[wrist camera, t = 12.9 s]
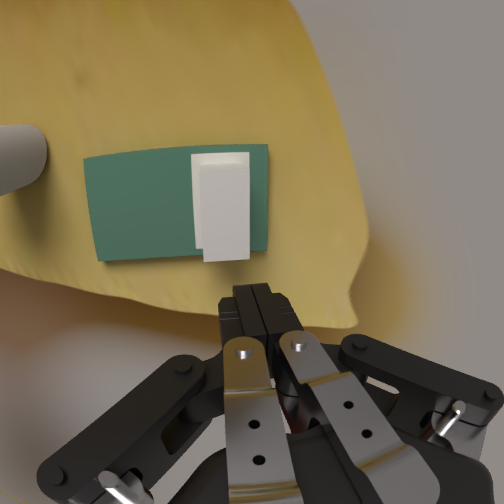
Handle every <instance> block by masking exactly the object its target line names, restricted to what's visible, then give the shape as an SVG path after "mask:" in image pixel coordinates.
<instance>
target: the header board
mask: <svg viewBox="0 0 504 504" xmlns="http://www.w3.org/2000/svg"><path fill="white" fill-rule="evenodd" d="M83 160H84V172H85V182H86V191H87V199H88V207H89V213H90V220H91V226H92V232H93V238H94V243H95V248H96V253H97V258H98V261H112V260H128V259H144V258H160V257H176V256H191V255H203V242H202V225H201V206H200V183H199V168H200V164H218V163H242V164H243V165H245V166H246V167H247V168H249V169H250V252H255V251H267V204H268V145H267V144H233V145H204V146H186V147H173V148H161V149H150V150H141V151H132V152H124V153H117V154H110V155H103V156H97V157H90V158H86V159H83Z"/></svg>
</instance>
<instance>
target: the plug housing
mask: <svg viewBox="0 0 504 504" xmlns="http://www.w3.org/2000/svg"><path fill="white" fill-rule="evenodd" d="M199 183H200V206H201V225H202V242H203V257H204V262H212V261H228V260H243V259H250V169H249V168H247V167H246V166H245V165H243V164H242V163H218V164H200V168H199Z"/></svg>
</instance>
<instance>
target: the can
mask: <svg viewBox="0 0 504 504" xmlns="http://www.w3.org/2000/svg"><path fill="white" fill-rule="evenodd" d="M46 158H47V145H46V141H45V138H44V136H43V134H42V132H41V131H40V130H39V129H38V128H37V127H35V126H33V125H29V124H26V125H2V126H0V196H2V195H4V194H7V193H9V192H12V191H14V190H16V189H19V188H21V187H24V186H26V185H29V184H31V183H32V182H34V181H35V180H36V179H37V178H38V177H39V176H40V175H41V173H42V171H43V169H44V167H45V163H46Z"/></svg>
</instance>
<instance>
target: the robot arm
mask: <svg viewBox="0 0 504 504" xmlns="http://www.w3.org/2000/svg"><path fill="white" fill-rule="evenodd" d="M218 311H219V325H220V335H221V343H222V350H221V351H220V353H219V354H218V355H216V356H215V357H213V358H211V359H208V360H205V361H201V360H200V359H199V358H197V357H195V356H192V355H177V356H174V357H172V358H170V359H168V360H167V361H166V362H165V363H164V364H162V365H161V366H160V367H159V368H158V369H157V370H155V371H154V372H153V373H152V374H151V375H150V376H148V377H147V378H146V379H145V380H144V381H142V382H141V383H140V384H139V385H138V386H136V387H135V388H134V389H133V390H132V391H131V392H129V393H128V394H127V395H126V396H125V397H123V398H122V399H121V400H120V401H119V402H117V403H116V404H115V405H114V406H112V407H111V408H110V409H109V410H108V411H106V412H105V413H104V414H103V415H102V416H100V417H99V418H98V419H97V420H95V421H94V422H93V423H92V424H90V426H88V427H87V428H86V429H84V430H83V431H82V432H81V433H79V434H78V435H77V436H76V437H74V438H73V439H72V440H71V441H69V442H68V443H67V444H65V445H64V446H63V447H62V448H60V449H59V450H58V451H57V452H55V453H54V454H53V455H51V456H50V457H49V458H48V459H46V460H45V461H44V462H43V463H42V464H41V465H40V466H39V468H38V471H37V483H38V486H39V488H40V489H41V491H42V492H43V493H44V494H45V495H47V496H48V497H49V498H51V499H52V500H54V501H55V502H57V503H58V504H154V498H153V496H152V494H151V492H150V491H149V490H150V489H151V488H152V487H153V486H154V485H155V484H156V483H157V481H158V480H159V479H160V478H161V477H162V476H163V475H164V474H165V473H166V472H167V471H168V470H169V469H170V468H171V467H172V466H173V465H174V463H175V462H176V461H177V460H178V459H179V458H180V457H181V456H182V455H183V454H184V453H185V452H186V451H187V449H188V448H189V447H190V446H191V445H192V444H193V443H194V441H195V440H196V439H197V438H198V437H199V436H200V435H201V434H202V432H203V431H204V430H205V429H206V428H207V427H208V426H209V424H210V423H211V421H212V418H214V417H217V416H220V415H223V414H225V433H226V448H223V449H221V450H219V451H217V452H215V453H214V454H212V455H211V456H209V457H208V458H207V459H205V461H203V462H202V463H201V464H200V465H199V467H198V468H197V469H196V470H195V471H194V473H193V474H192V475H191V476H190V478H189V479H188V480H187V481H186V483H185V484H184V485H183V486H182V487H181V489H180V490H179V491H178V492H177V493H176V495H175V496H174V497H173V498H172V499H171V500H170V502H169V503H168V504H495V503H494V495H493V481H492V477H491V474H490V472H489V471H488V469H487V468H486V467H485V465H483V464H482V463H481V462H479V459H480V455H481V451H482V447H483V443H484V438H485V433H486V428H487V425H488V423H489V422H490V421H491V420H492V419H493V417H494V416H495V415H496V414H497V412H498V411H499V410H500V408H501V407H502V406H503V404H504V395H503V393H502V391H501V390H500V388H499V387H497V386H496V385H494V384H492V383H490V382H487V381H484V380H481V379H478V378H475V377H472V376H470V375H467V374H464V373H462V372H459V371H456V370H453V369H450V368H448V367H445V366H443V365H440V364H437V363H434V362H432V361H429V360H427V359H424V358H421V357H419V356H416V355H414V354H411V353H408V352H406V351H403V350H401V349H398V348H396V347H393V346H390V345H388V344H386V343H383V342H381V341H378V340H376V339H373V338H371V337H368V336H366V335H362V334H351V335H348V336H346V337H345V338H343V340H342V342H341V345H332V344H323V343H319V341H318V340H317V339H316V337H315V336H314V335H312V334H311V333H308V332H305V331H304V329H303V327H302V325H301V323H300V321H299V319H298V317H297V315H296V313H294V310H293V308H292V307H291V304H290V302H289V300H288V298H286V297H285V296H284V295H282V294H281V293H272V292H271V290H270V288H269V286H268V283H259V284H247V285H234V286H233V297H224V298H222V299H221V300H220V302H219V304H218ZM368 376H369V377H371V378H374V379H376V380H378V381H381V382H383V383H385V384H388V385H390V386H392V387H395V388H396V389H397V390H398V391H399V393H398V394H393V393H390V392H388V391H385V390H383V389H381V388H379V387H376V386H374V385H372V384H369V383H367V382H366V381H367V378H368ZM272 378H274V380H275V383H276V385H275V388H272V385H271V380H270V379H272ZM279 404H280V405H279ZM280 406H281V409H282V411H283V414H284V416H285V418H286V420H287V423H288V425H289V427H290V430H291V434H289V433H285V428H284V423H283V419H282V414H281V409H280Z"/></svg>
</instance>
